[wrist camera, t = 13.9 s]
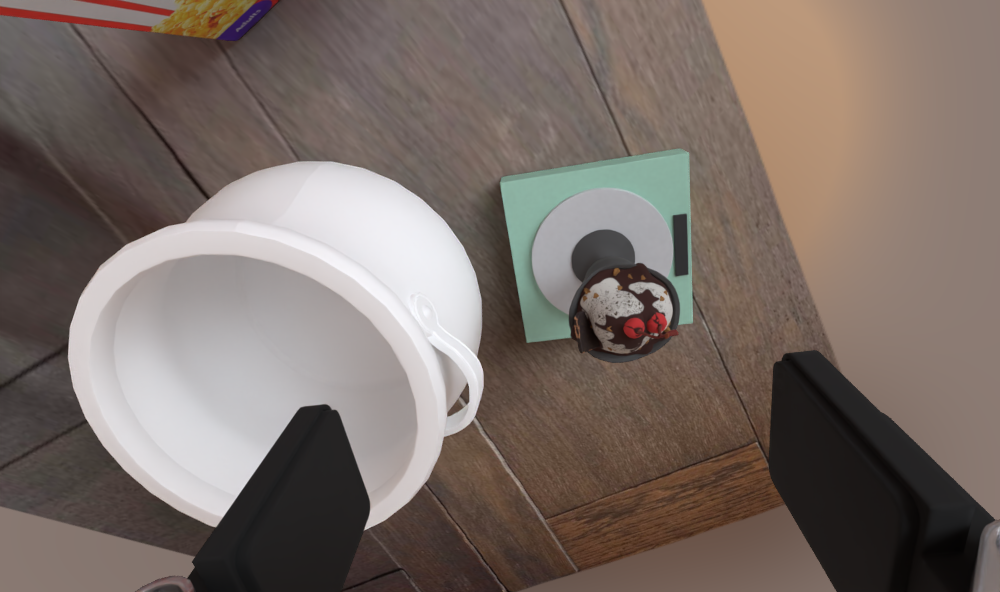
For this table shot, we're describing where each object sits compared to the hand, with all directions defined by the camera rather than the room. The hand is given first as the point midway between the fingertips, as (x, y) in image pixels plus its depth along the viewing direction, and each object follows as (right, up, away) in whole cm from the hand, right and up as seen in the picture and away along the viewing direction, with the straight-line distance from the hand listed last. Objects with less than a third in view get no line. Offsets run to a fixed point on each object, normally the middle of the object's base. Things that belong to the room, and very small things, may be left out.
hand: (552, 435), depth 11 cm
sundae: (+7, +6, +29) cm, 31 cm away
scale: (+7, +7, +32) cm, 33 cm away
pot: (-14, +3, +35) cm, 38 cm away
